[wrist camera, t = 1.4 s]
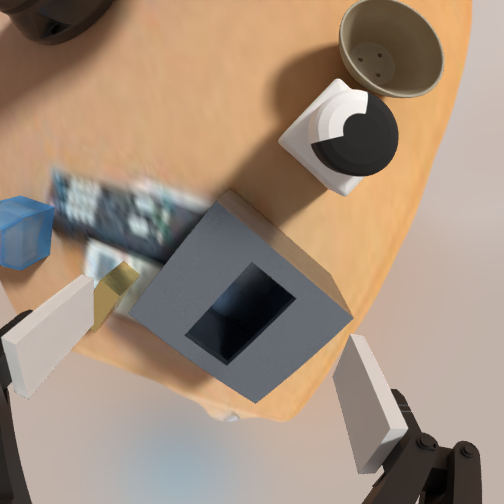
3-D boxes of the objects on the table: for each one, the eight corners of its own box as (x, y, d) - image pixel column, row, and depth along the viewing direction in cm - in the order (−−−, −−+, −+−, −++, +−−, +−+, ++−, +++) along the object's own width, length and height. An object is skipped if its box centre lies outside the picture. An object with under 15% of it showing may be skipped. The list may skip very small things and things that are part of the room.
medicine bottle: (373, 140, 30) (428, 135, 19) (328, 189, 32) (363, 208, 20) (322, 92, 29) (354, 59, 18) (276, 141, 31) (283, 132, 19)
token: (100, 295, 36) (77, 318, 31) (123, 260, 35) (100, 279, 29) (116, 309, 37) (95, 332, 31) (140, 274, 35) (119, 296, 30)
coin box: (161, 272, 35) (128, 313, 25) (230, 187, 32) (216, 200, 23) (257, 346, 37) (255, 403, 28) (330, 274, 34) (353, 318, 25)
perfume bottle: (20, 195, 33) (-46, 214, 21) (54, 207, 33) (-13, 230, 22) (17, 240, 35) (-45, 269, 23) (49, 254, 35) (-12, 289, 24)
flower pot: (424, 57, 27) (456, 40, 20) (391, 126, 30) (421, 120, 23) (348, 8, 26) (366, -22, 19) (308, 75, 29) (320, 54, 22)
